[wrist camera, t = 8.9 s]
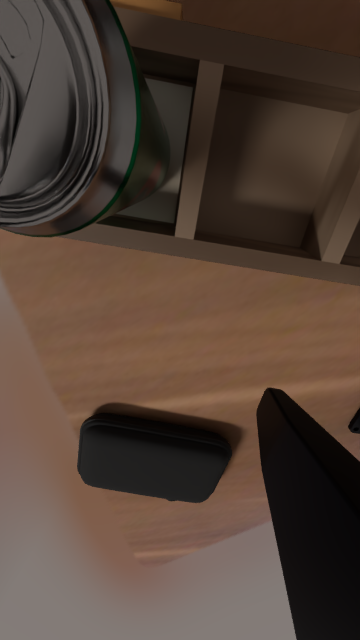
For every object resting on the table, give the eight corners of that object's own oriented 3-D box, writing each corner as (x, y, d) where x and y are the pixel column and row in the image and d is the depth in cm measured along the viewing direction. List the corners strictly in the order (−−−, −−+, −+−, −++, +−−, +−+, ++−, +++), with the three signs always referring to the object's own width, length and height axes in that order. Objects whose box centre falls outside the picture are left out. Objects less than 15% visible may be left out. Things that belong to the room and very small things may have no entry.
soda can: (186, 123, 14) (181, -38, 4) (151, 216, 16) (87, 285, 6) (93, 74, 13) (-265, -323, 3) (70, 179, 16) (-178, 180, 5)
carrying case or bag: (81, 468, 31) (206, 489, 32) (70, 496, 28) (207, 518, 29) (87, 401, 26) (235, 428, 27) (75, 427, 23) (240, 456, 24)
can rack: (413, 279, 19) (465, 303, 15) (54, 220, 18) (21, 230, 14) (513, 111, 14) (619, 90, 11) (42, 16, 13) (-11, -43, 10)
